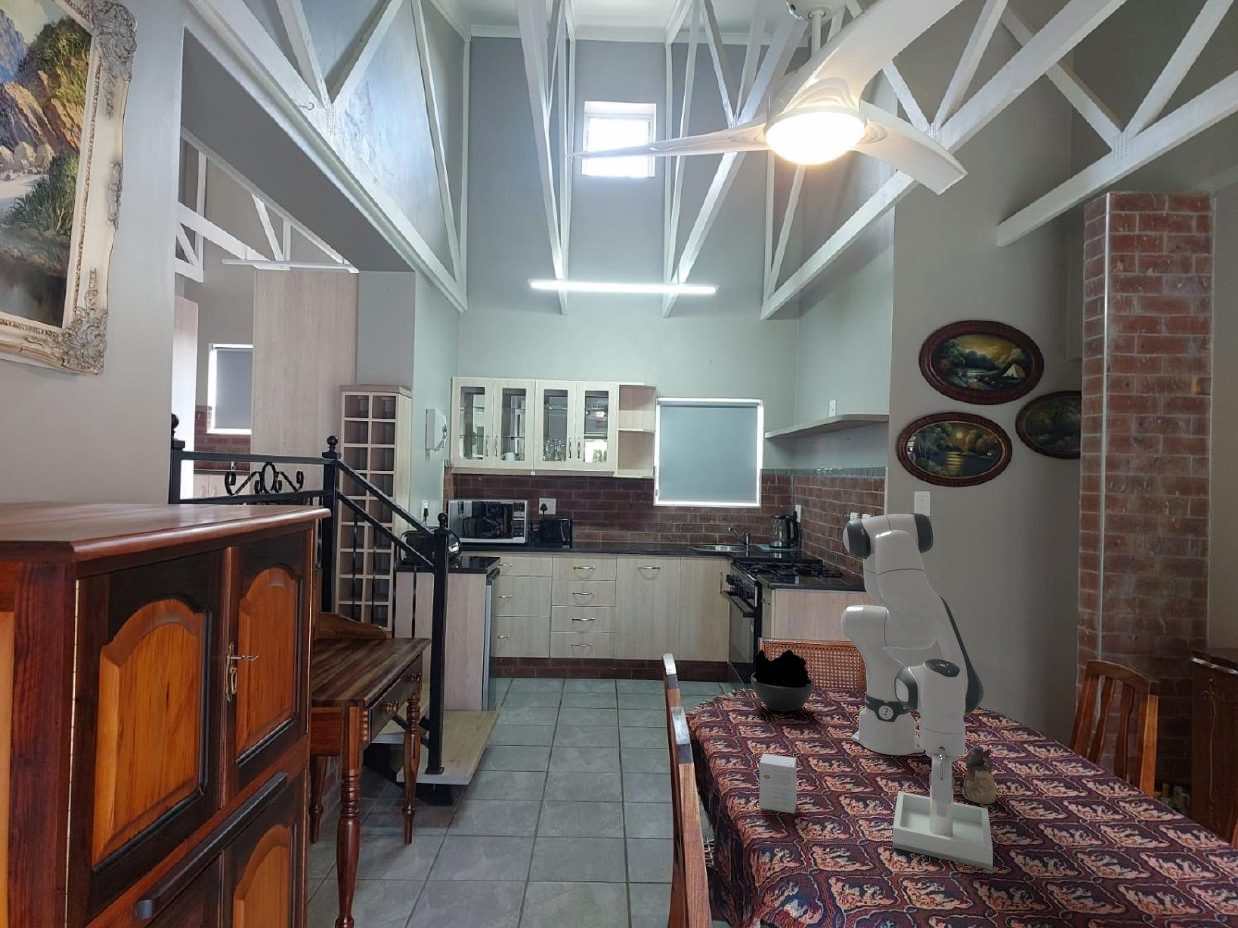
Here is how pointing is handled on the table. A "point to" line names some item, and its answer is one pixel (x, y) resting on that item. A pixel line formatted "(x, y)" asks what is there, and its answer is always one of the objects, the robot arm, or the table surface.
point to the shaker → (937, 822)
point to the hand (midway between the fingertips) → (941, 805)
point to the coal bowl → (782, 681)
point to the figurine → (979, 777)
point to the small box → (778, 783)
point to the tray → (962, 847)
